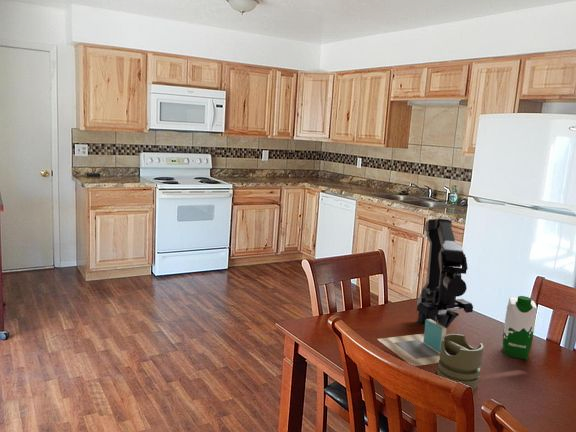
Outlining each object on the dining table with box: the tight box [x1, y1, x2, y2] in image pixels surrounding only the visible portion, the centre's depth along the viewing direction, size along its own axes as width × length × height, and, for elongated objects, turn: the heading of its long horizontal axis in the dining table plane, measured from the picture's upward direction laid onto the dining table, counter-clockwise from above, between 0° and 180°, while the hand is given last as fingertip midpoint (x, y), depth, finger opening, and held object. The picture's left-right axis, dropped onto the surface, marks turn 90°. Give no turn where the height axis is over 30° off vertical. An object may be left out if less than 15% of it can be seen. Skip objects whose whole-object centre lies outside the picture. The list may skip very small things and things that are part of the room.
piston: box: [436, 333, 484, 391], centre depth 145 cm, size 11×12×11 cm
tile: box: [423, 319, 448, 352], centre depth 165 cm, size 2×8×8 cm, turn 23°
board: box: [376, 333, 440, 367], centre depth 164 cm, size 22×20×1 cm
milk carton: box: [502, 295, 538, 361], centre depth 166 cm, size 9×9×20 cm
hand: (442, 332), depth 166 cm, fingers closed
